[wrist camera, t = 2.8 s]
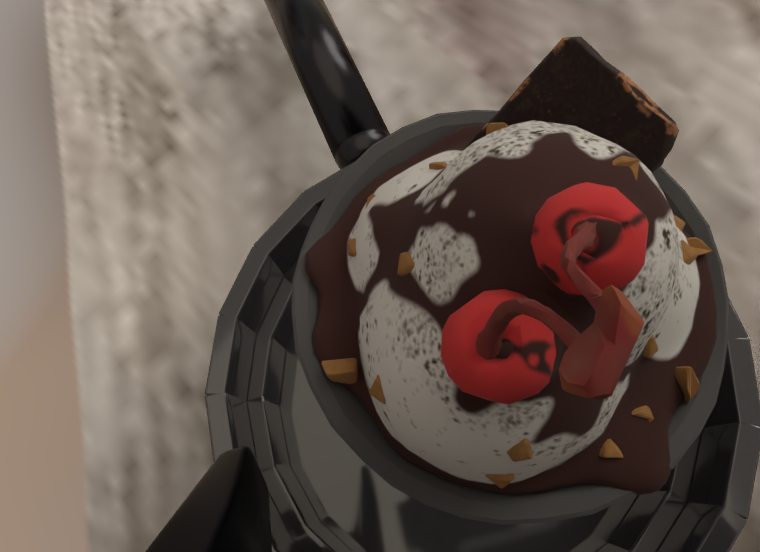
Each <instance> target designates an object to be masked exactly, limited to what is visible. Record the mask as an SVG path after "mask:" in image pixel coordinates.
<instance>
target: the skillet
mask: <svg viewBox="0 0 760 552" xmlns="http://www.w3.org/2000/svg"><path fill="white" fill-rule="evenodd" d="M356 161H357V160H356ZM356 161H355V162H356ZM355 162H353V163H351V164H350V165H348V166H346V167H345V168H343V169H341V170H339V171H338V172H336V173H334V174H333V175H331V176H329V177H328V178H326V179H324V180H322V181H321V182H319V183H317V184H316V185H314V186H312V187H311V188H309V189H307V190H305V191H304V193H302V194H301V195H300V196H299V197H298V198H297V199H296V200H295V202H294V203H293V204H292V205H291V206H290V207H289V208H288V209H287V210H286V211H285V212H284V213H283V214H282V215H281V216H280V217H279V218H278V220H277V221H276V222H275V223H274V224H273V225H272V226H271V227H270V228H269V229H268V230H267V231H266V232H265V233H264V234H263V235H262V236H261V238H260V239H259V240H258V241H257V242H256V243H255V244H254V247H252V249H251V251H250V253H249V255H248V257H247V259H246V261H245V263H244V265H243V267H242V269H241V271H240V273H239V275H238V277H237V279H236V281H235V283H234V285H233V286H232V288H231V290H230V292H229V294H228V296H227V298H226V300H225V302H224V304H223V306H222V308H221V310H220V312H219V316H218V320H217V326H216V332H215V337H214V343H213V349H212V355H211V361H210V367H209V373H208V379H207V385H206V391H205V394H206V396H205V401H206V409H207V416H208V423H209V430H210V437H211V445H212V452H213V459H214V462H215V461H216V459H217V458H218V457H219V456H220V455H221V454H222V453H223V452H225V451H228V450H231V449H235V448H239V447H243V446H247V447H249V448H250V449H251V450H252V452H253V454H254V456H255V458H256V461H257V463H258V465H259V468H260V470H261V472H262V474H263V477H264V479H265V481H266V484H267V487H268V492H269V502H270V522H271V542H272V552H729V551H730V549H731V547H732V546H733V544H734V542H735V540H736V539H737V537H738V535H739V534H740V532H741V530H742V529H743V527H744V525H745V523H746V520H745V519H747V518H748V515H749V509H750V504H751V498H752V492H753V486H754V481H755V475H756V469H757V463H758V457H759V452H760V400H759V394H758V388H757V382H756V376H755V370H754V364H753V357H752V351H751V345H750V339H749V338H747V337H748V335H747V333H746V331H745V329H744V327H743V325H742V323H741V321H740V319H739V317H738V315H737V313H736V311H735V309H734V307H733V305H732V303H731V301H730V299H729V297H728V300H729V315H728V342H727V350H726V358H725V366H724V372H723V377H722V381H721V385H720V389H719V393H718V397H717V401H716V404H715V406H714V408H713V410H712V412H711V414H710V416H709V418H708V420H707V422H706V423H705V425H704V427H703V429H702V431H701V433H700V434H699V436H698V437H697V438H696V440H695V441H694V442H693V444H692V445H691V446H690V448H689V449H688V450H687V452H686V453H685V454H684V455H683V457H682V458H681V459H680V461H679V462H678V463H677V465H676V466H675V467H674V468H673V469H671V472H670V475H669V478H668V480H667V482H666V484H665V485H664V486H663V487H662V488H661V489H660V490H658V491H656V492H653V493H650V494H642V495H633V496H630V497H628V498H626V499H624V500H622V501H620V502H618V503H616V504H614V505H612V506H609V507H607V508H605V509H603V510H601V511H599V512H597V513H595V514H592V515H586V516H580V517H575V518H569V519H563V520H557V521H552V522H546V523H530V524H509V525H500V524H495V523H489V522H483V521H477V520H471V519H466V518H461V517H458V516H455V515H452V514H449V513H447V512H444V511H441V510H438V509H435V508H432V507H429V506H427V505H425V504H423V503H421V502H419V501H418V500H416V499H414V498H412V497H410V496H408V495H407V494H405V493H403V492H401V491H399V490H397V489H396V488H394V487H392V486H391V485H390V484H389V483H387V482H386V481H385V480H384V479H383V478H382V477H380V476H379V475H378V474H377V473H376V472H375V471H374V470H372V469H371V468H370V467H369V466H368V465H367V464H365V463H364V462H363V461H362V460H361V459H360V458H359V457H358V455H357V454H356V453H355V452H354V451H353V450H352V449H351V448H350V447H349V446H348V445H347V443H346V442H345V441H344V440H343V439H342V438H341V437H340V436H339V435H338V434H337V433H336V431H335V430H334V429H333V428H332V427H331V426H330V424H329V422H328V420H327V418H326V416H325V414H324V413H323V411H322V409H321V407H320V405H319V403H318V402H317V400H316V398H315V396H314V394H313V392H312V391H311V389H310V387H309V384H308V381H307V379H306V376H305V373H304V371H303V368H302V365H301V363H300V360H299V358H298V355H297V352H296V350H295V342H294V331H293V321H292V311H291V310H292V284H293V278H294V274H295V270H296V266H297V262H298V259H299V255H300V251H301V249H302V246H303V244H304V241H305V239H306V236H307V234H308V231H309V229H310V226H311V224H312V222H313V220H314V218H315V216H316V214H317V212H318V211H319V209H320V207H321V205H322V203H323V201H324V199H325V197H326V196H327V195H328V193H329V192H330V191H331V189H332V188H333V187H334V186H335V184H336V183H337V182H338V180H339V179H340V178H341V177H342V175H343V174H344V173H345V172H346V171H347V170H348V169H349V168H350V167H351V166H352V165H353V164H354V163H355Z"/></svg>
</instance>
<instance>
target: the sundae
mask: <svg viewBox="0 0 760 552" xmlns="http://www.w3.org/2000/svg"><path fill="white" fill-rule="evenodd" d="M678 132H679V129H678V127H677V125H676V123H675V121H674V120H673V119H672V118H670V117H669V116H668V115H667V114H666V113H665V112H664V111H663V110H662V109H661V108H660V107H659V106H657V105H656V104H655V103H654V102H653V101H652V100H651V99H650V98H649V97H648V96H647V94H646V93H645V92H644V91H643V90H642V89H641V88H640V87H639V86H638V85H636V84H635V83H634V82H633V81H632V80H631V79H629V78H628V77H627V76H626V75H625V74H623V73H622V72H621V71H619V70H618V69H616V68H615V67H613V66H612V65H611V64H609V63H608V62H606V61H605V60H604V59H603V58H602V57H601V56H600V54H599V53H598V52H597V51H596V50H595V49H594V48H593V47H592V46H590V45H589V44H588V43H587V42H586V41H585V40H584V39H583V38H582V37H568V38H562V39H561V40H560V42H559V43H558V44H557V45H556V46H555V47H554V48H553V50H552V51H551V52H550V53H549V54H548V55H547V56H546V57H545V58H544V59H543V60H542V62H541V63H540V64H539V65H538V66H537V67H536V68H535V69H534V71H533V72H532V73H531V74H530V75H529V76H528V77H527V78H526V79H525V80H524V81H523V83H522V84H521V85H520V86H519V88H518V89H517V90H516V91H515V93H514V94H513V95H512V96H511V98H510V99H509V100H508V101H507V102H506V104H505V105H504V106H503V107H502V108H501V109H500V111H489V110H469V111H460V112H451V113H441V114H436V115H433V116H430V117H428V118H425V119H423V120H420V121H417V122H415V123H412V124H410V125H407V126H404V127H402V128H401V129H399V130H397V131H396V132H394V133H392V134H390V135H389V136H387V137H385V138H384V139H382V140H380V141H378V142H377V143H375V144H373V145H372V146H371V147H370V148H369V149H368V150H367V151H366V152H365V153H364V154H363V155H362V156H361V157H360V158H359V159H358V160H357V161H356V162H355V163H354V164H353V165H352V166H351V167H350V168H349V169H348V170H347V171H346V172H345V173H344V174H343V175H342V177H341V178H340V179H339V180H338V182H337V183H336V184H335V186H334V187H333V188H332V189H331V191H330V192H329V193H328V195H327V196H326V197H325V199H324V201H323V203H322V205H321V207H320V209H319V211H318V212H317V214H316V216H315V218H314V220H313V222H312V224H311V226H310V229H309V231H308V234H307V236H306V239H305V241H304V244H303V246H302V249H301V251H300V255H299V259H298V262H297V266H296V270H295V274H294V278H293V284H292V310H291V311H292V321H293V331H294V342H295V350H296V352H297V355H298V358H299V360H300V363H301V365H302V368H303V371H304V373H305V376H306V379H307V381H308V384H309V387H310V389H311V391H312V392H313V394H314V396H315V398H316V400H317V402H318V403H319V405H320V407H321V409H322V411H323V413H324V414H325V416H326V418H327V420H328V422H329V424H330V426H331V427H332V428H333V429H334V430H335V431H336V433H337V434H338V435H339V436H340V437H341V438H342V439H343V440H344V441H345V442H346V443H347V445H348V446H349V447H350V448H351V449H352V450H353V451H354V452H355V453H356V454H357V455H358V457H359V458H360V459H361V460H362V461H363V462H364V463H365V464H367V465H368V466H369V467H370V468H371V469H372V470H374V471H375V472H376V473H377V474H378V475H379V476H380V477H382V478H383V479H384V480H385V481H386V482H387V483H389V484H390V485H391V486H392V487H394V488H396V489H397V490H399V491H401V492H403V493H405V494H407V495H408V496H410V497H412V498H414V499H416V500H418V501H419V502H421V503H423V504H425V505H427V506H429V507H432V508H435V509H438V510H441V511H444V512H447V513H449V514H452V515H455V516H458V517H461V518H466V519H471V520H477V521H483V522H489V523H495V524H500V525H509V524H530V523H546V522H552V521H557V520H563V519H569V518H575V517H580V516H586V515H592V514H595V513H597V512H599V511H601V510H603V509H605V508H607V507H609V506H612V505H614V504H616V503H618V502H620V501H622V500H624V499H626V498H628V497H630V496H633V495H642V494H650V493H653V492H656V491H658V490H660V489H661V488H662V487H663V486H664V485H665V484H666V482H667V480H668V478H669V475H670V472H671V469H673V468H674V467H675V466H676V465H677V463H678V462H679V461H680V459H681V458H682V457H683V455H684V454H685V453H686V452H687V450H688V449H689V448H690V446H691V445H692V444H693V442H694V441H695V440H696V438H697V437H698V436H699V434H700V433H701V431H702V429H703V427H704V425H705V423H706V422H707V420H708V418H709V416H710V414H711V412H712V410H713V408H714V406H715V404H716V401H717V397H718V393H719V389H720V385H721V381H722V377H723V372H724V366H725V358H726V350H727V342H728V315H729V300H728V294H727V289H726V283H725V277H724V272H723V266H722V263H721V260H720V257H719V254H718V251H717V248H716V245H715V242H714V239H713V236H712V233H711V230H710V227H709V225H708V223H707V222H706V220H705V219H704V217H703V216H702V215H701V213H700V212H699V210H698V209H697V207H696V206H695V204H694V203H693V201H692V200H691V199H690V197H689V196H688V194H687V193H686V191H685V190H684V189H683V188H682V187H681V186H680V185H679V184H678V183H677V182H676V181H675V180H674V179H673V178H672V177H671V176H670V175H669V174H668V173H667V172H666V171H665V170H664V169H663V168H662V167H661V165H662V164H663V162H664V159H665V158H666V156H667V155H668V153H669V152H670V151H671V149H672V147H673V145H674V142H675V140H676V137H677V135H678Z"/></svg>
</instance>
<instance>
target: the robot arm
mask: <svg viewBox="0 0 760 552" xmlns="http://www.w3.org/2000/svg"><path fill="white" fill-rule="evenodd" d="M146 552H272V542H271V522H270V502H269V492H268V487H267V484H266V481H265V479H264V477H263V474H262V472H261V470H260V468H259V465H258V463H257V461H256V458H255V456H254V454H253V452H252V450H251V449H250V448H249V447H247V446H243V447H239V448H235V449H231V450H228V451H225V452H223V453H222V454H221V455H220V456H219V457H218V458H217V459H216V461H215V462H214V463H213V465H212V466H211V467H210V469H209V470H208V471H207V472H206V474H205V475H204V476H203V478H202V479H201V480H200V481H199V483H198V484H197V485H196V487H195V488H194V489H193V491H192V492H191V493H190V494H189V496H188V497H187V498H186V500H185V501H184V502H183V504H182V505H181V506H180V507H179V509H178V510H177V511H176V513H175V514H174V515H173V517H172V518H171V519H170V520H169V522H168V523H167V524H166V526H165V527H164V528H163V530H162V531H161V532H160V533H159V535H158V536H157V537H156V539H155V540H154V541H153V543H152V544H151V545H150V546H149V548H148V549H147V550H146Z"/></svg>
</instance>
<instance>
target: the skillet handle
mask: <svg viewBox="0 0 760 552" xmlns="http://www.w3.org/2000/svg"><path fill="white" fill-rule="evenodd" d="M264 1H265V3H266V6H267V8H268V10H269V12H270V15H271V17H272V19H273V21H274V24H275V26H276V28H277V30H278V33H279V35H280V37H281V39H282V42H283V44H284V46H285V48H286V51H287V53H288V55H289V57H290V60H291V62H292V64H293V67H294V69H295V71H296V73H297V76H298V78H299V80H300V82H301V85H302V87H303V89H304V91H305V94H306V96H307V98H308V100H309V103H310V105H311V107H312V109H313V112H314V114H315V116H316V118H317V121H318V123H319V125H320V127H321V130H322V132H323V134H324V136H325V139H326V141H327V143H328V145H329V148H330V150H331V152H332V154H333V157H334V159H335V161H336V163H337V165H338V167H339V168H340V169H343V168H345V167H346V166H348V165H350V164H351V163H353V162H355V161H356V160H358V159H359V158H360V157H361V156H362V155H363V154H364V153H365V152H366V151H367V150H368V149H369V148H370V147H371V146H372V145H373V144H375V143H377V142H378V141H380V140H382V139H384V138H385V137H387V136H389V135H390V133H389V131H388V129H387V127H386V125H385V123H384V121H383V119H382V117H381V115H380V113H379V111H378V109H377V107H376V105H375V103H374V101H373V99H372V97H371V95H370V93H369V91H368V89H367V87H366V85H365V83H364V81H363V79H362V77H361V75H360V73H359V71H358V69H357V67H356V65H355V63H354V61H353V59H352V57H351V55H350V53H349V51H348V49H347V47H346V45H345V43H344V41H343V39H342V37H341V35H340V33H339V31H338V29H337V27H336V25H335V23H334V21H333V19H332V17H331V15H330V13H329V11H328V9H327V7H326V5H325V3H324V1H323V0H264Z"/></svg>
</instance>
